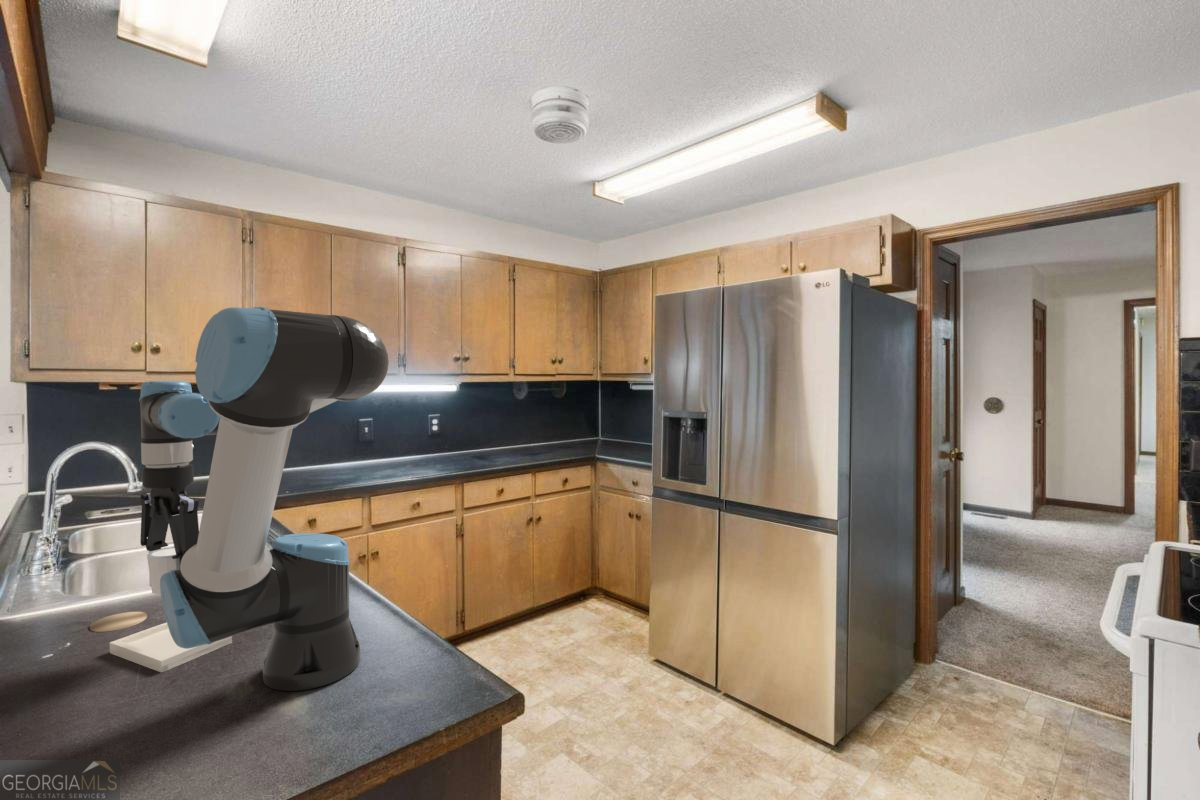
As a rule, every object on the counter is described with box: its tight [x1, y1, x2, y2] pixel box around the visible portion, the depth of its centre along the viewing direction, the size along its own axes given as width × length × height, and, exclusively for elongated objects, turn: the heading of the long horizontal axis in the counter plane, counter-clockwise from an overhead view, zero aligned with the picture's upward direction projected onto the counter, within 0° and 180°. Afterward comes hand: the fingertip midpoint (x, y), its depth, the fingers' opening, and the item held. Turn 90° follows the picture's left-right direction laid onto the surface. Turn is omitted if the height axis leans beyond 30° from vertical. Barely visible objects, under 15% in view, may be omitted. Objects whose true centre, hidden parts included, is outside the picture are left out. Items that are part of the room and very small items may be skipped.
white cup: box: [146, 546, 176, 595], centre depth 104 cm, size 7×7×7 cm
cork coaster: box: [89, 611, 148, 633], centre depth 115 cm, size 9×9×1 cm
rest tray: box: [109, 621, 233, 674], centre depth 105 cm, size 16×12×2 cm
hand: (170, 587), depth 104 cm, fingers closed on white cup, 7 cm apart
